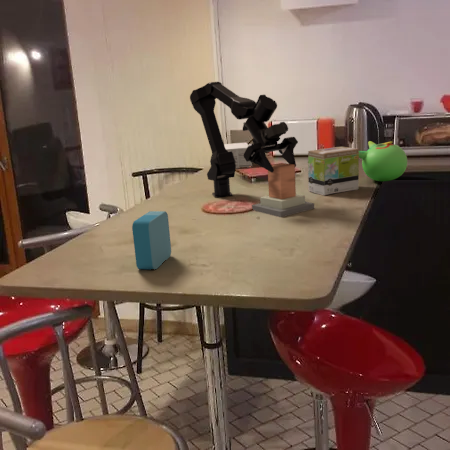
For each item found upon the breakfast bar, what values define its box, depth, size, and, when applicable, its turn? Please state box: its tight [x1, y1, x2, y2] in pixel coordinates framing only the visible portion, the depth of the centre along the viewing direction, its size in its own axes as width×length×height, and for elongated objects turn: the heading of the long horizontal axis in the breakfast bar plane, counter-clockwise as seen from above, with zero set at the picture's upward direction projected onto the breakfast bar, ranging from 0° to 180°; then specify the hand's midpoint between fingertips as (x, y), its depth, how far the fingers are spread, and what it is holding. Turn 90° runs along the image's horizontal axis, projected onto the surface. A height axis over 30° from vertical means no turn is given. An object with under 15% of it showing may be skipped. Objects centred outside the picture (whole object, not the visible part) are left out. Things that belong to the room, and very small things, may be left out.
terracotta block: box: [267, 162, 297, 199], centre depth 188 cm, size 6×6×10 cm
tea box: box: [307, 146, 360, 196], centre depth 210 cm, size 15×10×15 cm
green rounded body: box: [359, 140, 408, 183], centre depth 220 cm, size 18×17×15 cm
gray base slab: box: [251, 201, 315, 218], centre depth 191 cm, size 14×14×2 cm
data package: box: [131, 210, 172, 270], centre depth 146 cm, size 12×4×12 cm, turn 164°
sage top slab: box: [259, 193, 306, 209], centre depth 190 cm, size 10×10×2 cm
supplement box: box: [224, 142, 253, 169], centre depth 277 cm, size 17×13×9 cm
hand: (284, 169), depth 186 cm, fingers open, 9 cm apart
